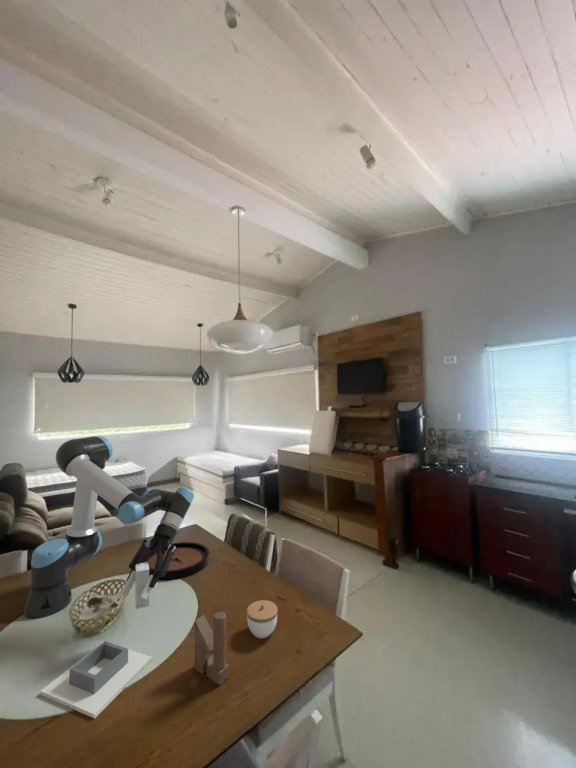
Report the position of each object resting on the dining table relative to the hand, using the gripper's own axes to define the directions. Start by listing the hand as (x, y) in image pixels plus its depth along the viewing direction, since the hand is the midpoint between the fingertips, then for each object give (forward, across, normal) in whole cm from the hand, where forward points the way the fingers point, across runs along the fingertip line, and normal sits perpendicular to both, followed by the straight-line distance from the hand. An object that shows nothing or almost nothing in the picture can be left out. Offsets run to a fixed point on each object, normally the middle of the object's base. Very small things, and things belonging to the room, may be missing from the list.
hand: (134, 595), depth 109 cm
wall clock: (-24, +23, -48) cm, 58 cm away
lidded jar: (-3, -37, -26) cm, 45 cm away
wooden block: (+12, -30, -11) cm, 34 cm away
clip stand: (+20, 0, -3) cm, 21 cm away
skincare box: (+1, 0, -6) cm, 6 cm away
